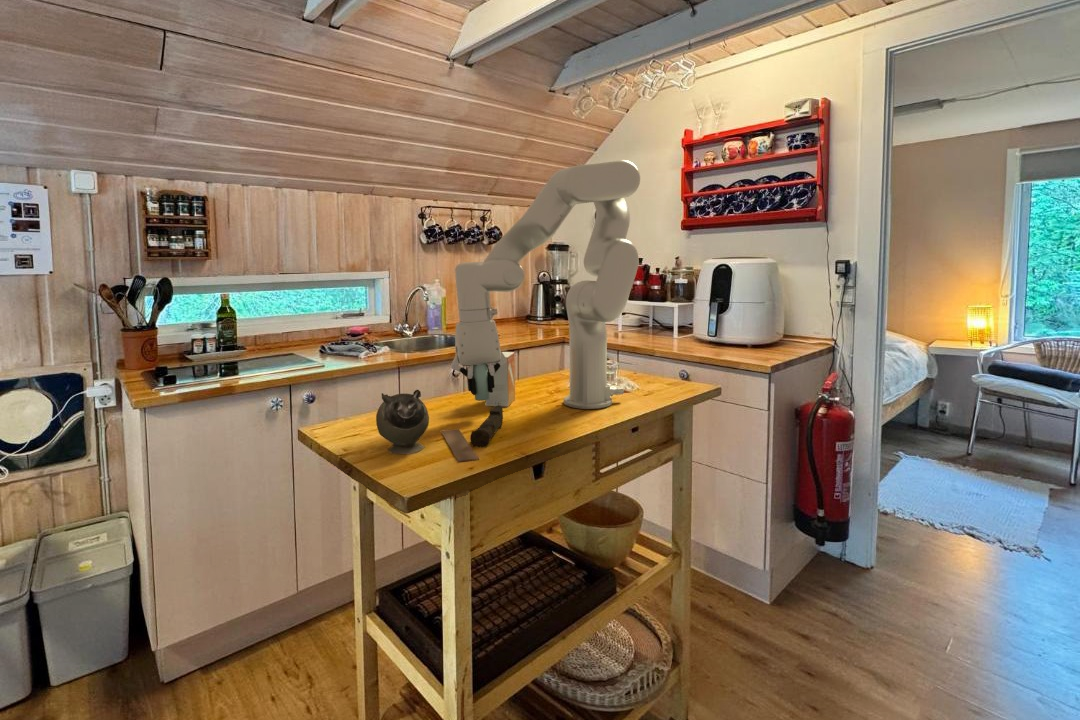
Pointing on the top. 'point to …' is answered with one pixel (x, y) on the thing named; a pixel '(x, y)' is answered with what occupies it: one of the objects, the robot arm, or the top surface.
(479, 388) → the green ice pop
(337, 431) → the top surface
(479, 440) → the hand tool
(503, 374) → the small box
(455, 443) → the joist strip
